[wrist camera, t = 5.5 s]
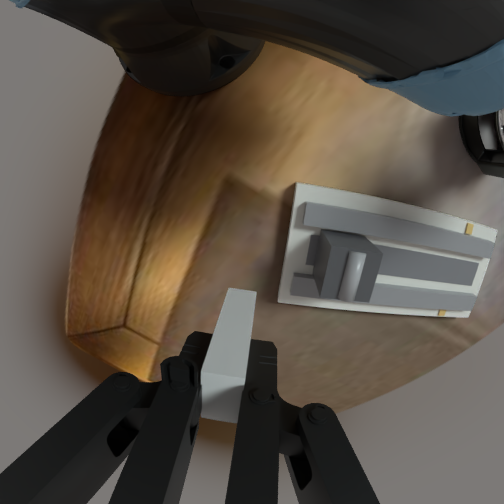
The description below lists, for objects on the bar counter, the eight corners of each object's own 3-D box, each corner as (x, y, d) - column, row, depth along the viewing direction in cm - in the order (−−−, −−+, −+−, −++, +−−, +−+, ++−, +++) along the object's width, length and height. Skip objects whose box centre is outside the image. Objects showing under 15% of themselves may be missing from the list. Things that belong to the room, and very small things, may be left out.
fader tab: (312, 273, 27) (321, 301, 21) (321, 229, 25) (333, 248, 20) (354, 278, 26) (371, 306, 21) (364, 236, 25) (386, 256, 20)
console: (277, 295, 30) (277, 307, 27) (295, 181, 26) (298, 184, 23) (462, 312, 29) (471, 321, 26) (490, 227, 25) (502, 232, 22)
